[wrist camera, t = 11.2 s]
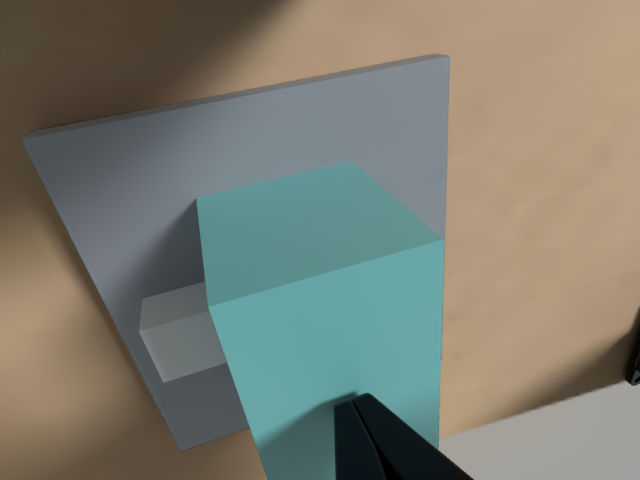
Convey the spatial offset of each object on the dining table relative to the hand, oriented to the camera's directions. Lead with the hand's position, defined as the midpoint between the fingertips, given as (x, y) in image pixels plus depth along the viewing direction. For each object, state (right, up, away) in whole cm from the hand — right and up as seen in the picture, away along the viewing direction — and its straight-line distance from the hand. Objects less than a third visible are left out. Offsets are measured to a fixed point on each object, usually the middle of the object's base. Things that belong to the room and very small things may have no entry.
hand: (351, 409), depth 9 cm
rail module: (-2, +2, +4) cm, 5 cm away
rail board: (-2, +3, +5) cm, 6 cm away
